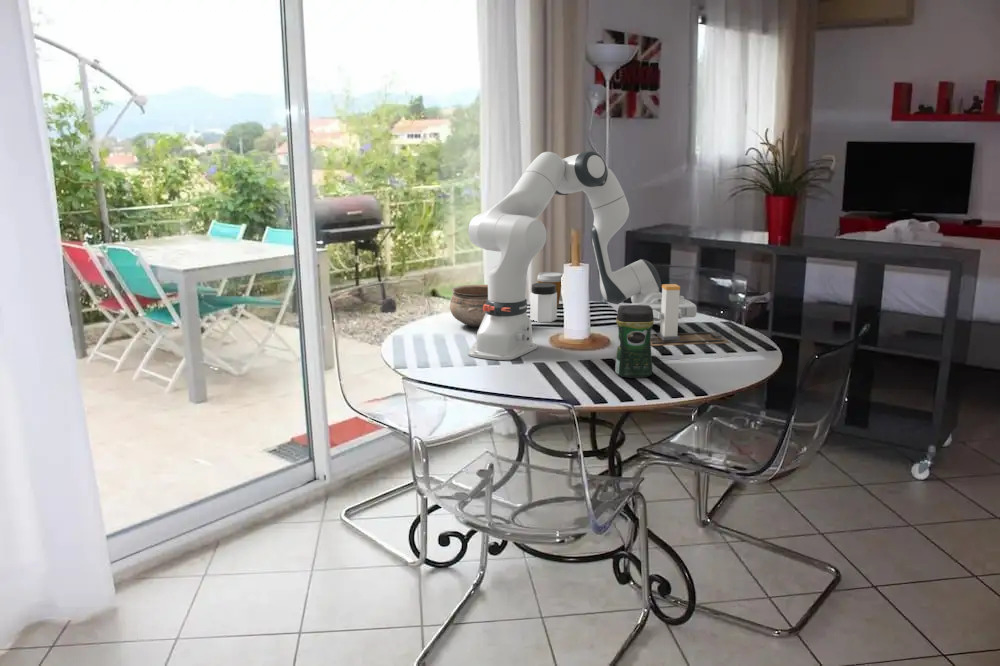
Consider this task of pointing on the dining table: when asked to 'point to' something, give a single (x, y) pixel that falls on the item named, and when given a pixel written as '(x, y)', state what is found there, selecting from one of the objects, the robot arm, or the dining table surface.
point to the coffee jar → (634, 341)
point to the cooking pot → (469, 304)
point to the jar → (543, 302)
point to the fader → (669, 312)
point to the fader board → (690, 339)
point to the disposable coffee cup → (551, 281)
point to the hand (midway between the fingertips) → (670, 316)
